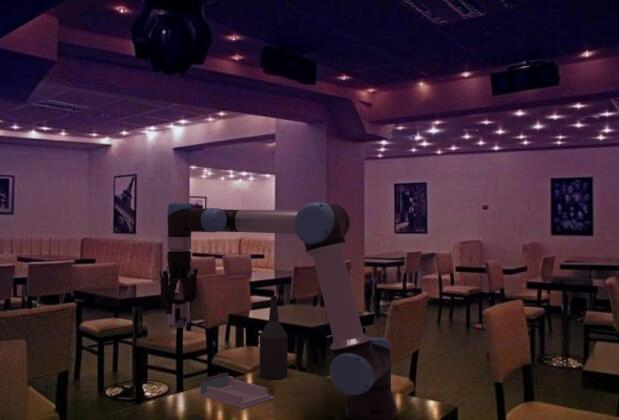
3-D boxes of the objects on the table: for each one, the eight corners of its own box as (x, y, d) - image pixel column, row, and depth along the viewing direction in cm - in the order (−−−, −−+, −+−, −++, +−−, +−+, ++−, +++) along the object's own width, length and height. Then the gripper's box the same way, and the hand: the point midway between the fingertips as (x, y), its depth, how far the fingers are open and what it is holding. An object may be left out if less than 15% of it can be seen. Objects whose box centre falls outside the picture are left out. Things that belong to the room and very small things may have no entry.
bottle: (288, 374, 214) (288, 294, 215) (286, 381, 205) (287, 297, 205) (260, 373, 214) (261, 294, 215) (258, 380, 205) (258, 297, 206)
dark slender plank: (228, 386, 195) (228, 373, 195) (203, 393, 187) (203, 379, 187) (225, 385, 196) (225, 372, 196) (200, 392, 187) (200, 379, 188)
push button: (192, 325, 185) (192, 295, 185) (186, 328, 180) (186, 297, 180) (172, 325, 186) (172, 294, 186) (166, 328, 181) (166, 296, 181)
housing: (275, 398, 184) (275, 387, 184) (242, 408, 173) (242, 397, 173) (230, 385, 198) (230, 376, 198) (197, 395, 187) (197, 384, 187)
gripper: (194, 249, 192) (193, 318, 192) (148, 250, 178) (147, 325, 178) (208, 249, 187) (208, 320, 187) (162, 251, 174) (162, 328, 173)
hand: (178, 322), depth 182 cm, fingers closed on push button, 5 cm apart
